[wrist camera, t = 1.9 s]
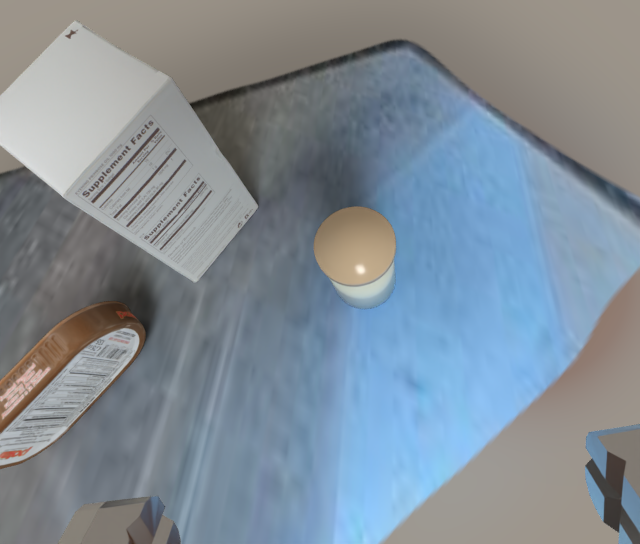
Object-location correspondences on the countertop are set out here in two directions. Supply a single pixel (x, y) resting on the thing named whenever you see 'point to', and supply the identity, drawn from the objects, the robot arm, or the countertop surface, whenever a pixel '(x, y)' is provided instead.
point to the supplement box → (125, 150)
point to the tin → (64, 377)
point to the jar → (358, 255)
